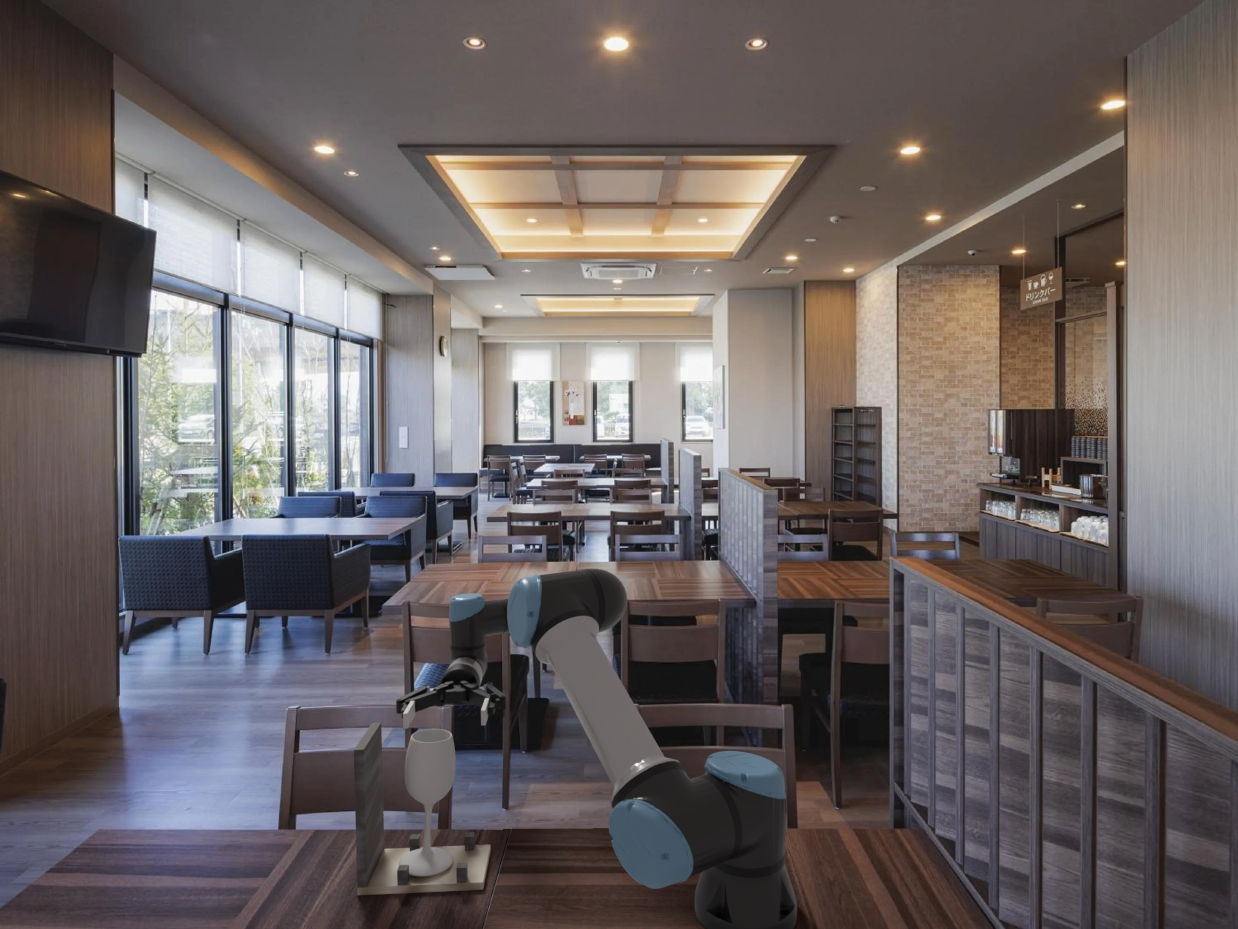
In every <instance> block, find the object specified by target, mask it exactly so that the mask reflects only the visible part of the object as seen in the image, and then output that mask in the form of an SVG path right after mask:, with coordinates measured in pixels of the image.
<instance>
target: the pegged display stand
mask: <svg viewBox="0 0 1238 929" xmlns="http://www.w3.org/2000/svg"><path fill="white" fill-rule="evenodd" d="M382 732H383V731H382V722H381V721H380V722H372V723H371V724H370V726H369V727H368V728H367V730H366V731H365V733H364V734H363V736H362V738H360V739H359V741H358V743H357V744H356V745H355V747H354V749H353V769H354V771H353V772H354V774H353V776H354V806H355V807H354V808H355V809H354V811H355V812H354V814H355V815H354V816H355V843H356V844H355V846H356V847H355V848H356V849H355V850H356V851H355V852H356V854H355V855H356V885H357V886H356V887H357V888H356V890H357V896H368V895H369V896H372V895H391V894H394V895H395V894H415V893H416V894H417V893H437V892H438V893H439V892H442V893H443V892H455V891H456V892H460V891H461V892H462V891H482V890H484V886H485V882H486V876H487V871H488V866H489V861H490V857H491V851H492V850H491V844H476V841H475V840H476V838H475V837H476V836H475V835H476V834H475V831H466V832H465V834H464V845H445V846H444V845H443V846H434V847H435V848H440V849H443V850H446V851H447V852H449V853H450V854H451V855H452V857H453V863H452V865H451V866H450V867H449V868H448V869H447V870H445V871H443V872H441V873H439V874H435V875H431V876H413V875H409V865H399V861H400V859H401V858H402V857H403V856H404V855H405V854H407V853H409V852H411V851H413V850H416V849H419V848H423V846H422V847H421V833H419V834H418V833H417V834H414V833H413V834H411V835H410V837H409V847H399V848H398V847H397V848H395V847H394V848H385V828H384V827H385V822H384V817H385V816H384V814H385V813H384V792H383V791H384V787H383V786H384V783H383V782H384V781H383V780H384V778H383V774H384V773H383V745H382V744H383V741H382V739H383V737H382Z"/></svg>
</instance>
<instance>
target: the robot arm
mask: <svg viewBox="0 0 1238 929" xmlns="http://www.w3.org/2000/svg"><path fill="white" fill-rule="evenodd" d="M627 595H628V594H627V591H626V588H625V586H624V585H623V582H622V581H621V580H620V578H618V576H616V574H613V573H611V572H610V571H608V570H604V569H601V568H600V569H599V568H584V569H578V570H570V571H562V572H553V573H545V574H535V575H533V576H527V577H522V578H520V579H518V580H517V581H516V582H514V584H513V585H512V587H511V589H510V592H509V595H508V598H501V599H493V600H485V597H484V595H482V594H480V593H475V592H474V593H473V592H471V593H460V594H459V593H458V594H457V595H454V596H452V597H451V598H450V600H449V608H448V621H449V622H448V623H449V624H448V626H449V644H450V645H449V654H450V655H449V656H450V658H449V660H450V664H449V666H448V668H447V669H446V671H445V672H444V675H443V677H442V678H441V682H440V683H439V685H437V686H436V687H433V688H431V687H430V685H429V684H428V683H425V684H423V685H421V687H420V688H417V689H415V690H414V691H411V692H408V693H407V694H405V695H403V696H401V697H399V698H397V699H395V703H396V705H395V708H396V709H395V710H396V714H398V715H401V719H402V726H403V729H404V730H405V729H407V730H408V729H409V727H410V726H411V723H412V721H413V720H414V718H415V716H416V713H418V712H420V711H423V710H425V709H429V708H432V707H434V706H437V707H441V706H444V705H446V704H448V705H449V704H451V705H453V706H465V705H470V706H472V705H475V706H478V707H480V708H481V709H480V725H481V726H486V725H487V721H488V720H489V716H493V715H495V712H496V711H497V709H499V710H501V711H504V710H506V709H507V695H505V693H503V692H502V691H501V690H499V689H498V688H496V687H495V686H494V685H493V682H492V681H488V682H486V684H484V685H483V686H481V684H482V681H483V678H484V676H485V674H486V672H487V669H488V665H489V664H488V661H489V660H488V655H487V652H486V637H490V636H493V635H494V636H496V635H500V634H501V635H502V634H503V635H504V634H505V633H506V634H508V633H509V636H510V639H511V640H512V642H513V643H514V646H516V647H519V648H523V649H527V648H529V647H531V648H532V651H533V653H534V655H535V657H536V658H537V660H538V661H539V662H540V663H542V664H545V665H550V666H551V667H552V669H553V671H554V673H555V675H556V677H557V679H558V682H559V684H560V686H561V687H562V689H563V691H564V693H565V695H566V697H567V699H568V701H569V702H570V705H571V707H572V709H573V710H574V712H575V714H576V716H577V718H578V720H579V722H580V724H581V726H582V728H583V730H584V732H585V734H586V736H587V737H588V740H589V741H590V744H591V745H592V748H593V749H594V751H595V753H596V755H597V757H598V759H599V761H600V763H601V765H602V767H603V769H604V771H605V773H606V775H607V776H608V780H610V782H611V784H612V787H613V792H612V796H611V799H610V806H611V809H612V810H611V813H610V815H609V820H608V832H609V834H610V836H611V838H612V839H611V841H610V842H611V845H612V849H613V850H614V851H613V852H614V853H615V855H616V857H617V859H618V861H619V863H620V865H621V866H622V868H623V870H625V871H626V873H627V874H628V875H629V876H630V877H631V878H632V879H633V880H634V881H635V882H636V883H638V884H639V885H642V886H645V887H647V888H649V889H653V890H654V889H659V890H660V889H662V888H665V887H669V886H672V885H677V884H681V883H684V882H686V881H687V880H688V879H689V878H691V877H693V876H696V875H699V874H700V875H699V879H698V881H697V885H696V887H695V892H694V913H695V916H696V918H697V920H698V922H700V924H701V925H702V926H703V927H704V928H705V929H794V928H795V926H796V924H797V920H798V905H797V904H798V902H797V897H796V894H795V891H794V889H793V885H792V881H791V878H790V876H789V872H788V869H787V866H786V861H785V860H786V851H785V850H786V801H787V800H786V798H787V794H786V786H785V785H786V784H785V776H784V772H783V770H782V769H781V768H780V767H779V766H778V765H777V764H776V763H775V762H773V761H772V760H770V759H767V758H765V756H760V755H758V754H754V753H751V752H746V751H745V752H744V751H738V750H725V751H717V752H713V753H711V754H710V755H708V756H707V758H706V760H705V764H704V769H705V773H704V774H701V775H700V776H695V777H692V778H690V777H689V776H688V774H687V773H686V772H687V771H686V770H685V768H683V766H682V764H681V762H680V760H678V759H675V758H674V759H673V758H670V757H666V756H664V754H663V752H662V750H661V748H660V747H659V745H658V743H657V742H656V740H655V738H654V736H653V734H652V733H651V730H649V728H648V726H647V724H646V722H645V720H644V718H643V717H642V716H641V713H640V712H639V710H638V708H637V707H636V705H635V704H634V702H633V700H632V698H631V697H630V695H629V693H628V691H627V690H626V688H625V686H624V684H623V682H622V680H621V679H620V677H619V675H618V673H617V672H616V670H615V669H614V666H613V665H612V663H611V662H610V660H609V659H608V657H607V655H606V653H605V652H604V649H603V648H602V646H601V645H600V643H599V641H598V639H597V637H598V635H599V633H602V632H605V631H608V630H610V629H611V628H614V626H615V625H617V624H618V623H619V622H620V621H621V619H623V617H624V615H625V612H626V609H627V607H628V606H627V605H628V596H627Z"/></svg>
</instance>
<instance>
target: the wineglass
mask: <svg viewBox="0 0 1238 929" xmlns="http://www.w3.org/2000/svg"><path fill="white" fill-rule="evenodd" d="M455 747H456V746H455V742H454V737H453V734H452V732H450V731H449V730H446V729H443V728H441V729H440V728H424V729H420V730H417V731H415V732H414V733H412V734H411V736H410V739H409V742H408V746H407V751H406V755H405V762H404V783H405V787H406V790H407V793H409V795H410V796H411V797H412V798H413V799H414V800H416V801H417V802H418V803H421V804H422V805H423V808H424V830H423V831H424V833H423V843H422V847H423V848H419V849H416V850H413V851H411V852H409V853H407V854H405V855H404V856H403V857H402V858H401V859H400V861H399V865H409V875H413V876H431V875H435V874H439V873H441V872H443V871H445V870H447V869H448V868H449V867H450V866H451V865H452V863H453V857H452V855H451V854H450V853H449V852H447V851H446V850H443V849H440V848H435V847H436V846H432V843H431V842H432V840H431V830H432V829H431V828H432V823H431V822H432V814H433V813H432V812H433V808H434V805H435V804H436V803H438V802H439V801H440V800H442V799H444V797H445V796H447V794H448V793H449V792H450V790H451V788H452V787H453V785H454V782H455V777H456V768H457V767H456V766H457V761H456V760H457V759H456V750H455Z"/></svg>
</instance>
